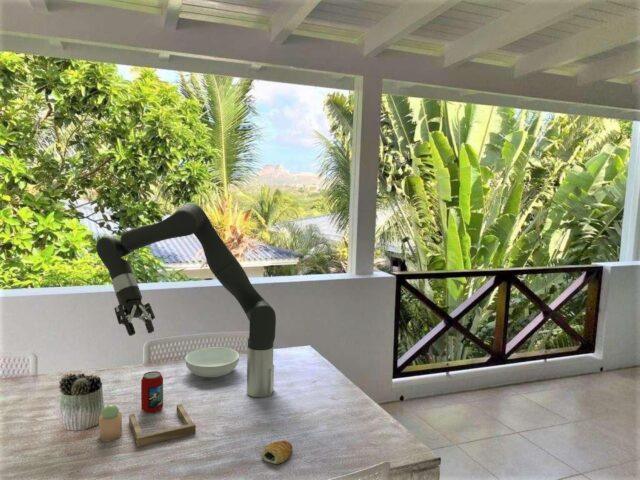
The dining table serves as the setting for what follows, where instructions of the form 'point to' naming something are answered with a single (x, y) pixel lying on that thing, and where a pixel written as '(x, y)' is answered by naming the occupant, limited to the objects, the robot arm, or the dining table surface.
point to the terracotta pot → (110, 423)
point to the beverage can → (152, 392)
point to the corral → (163, 434)
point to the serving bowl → (212, 361)
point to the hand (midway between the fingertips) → (142, 333)
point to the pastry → (277, 452)
